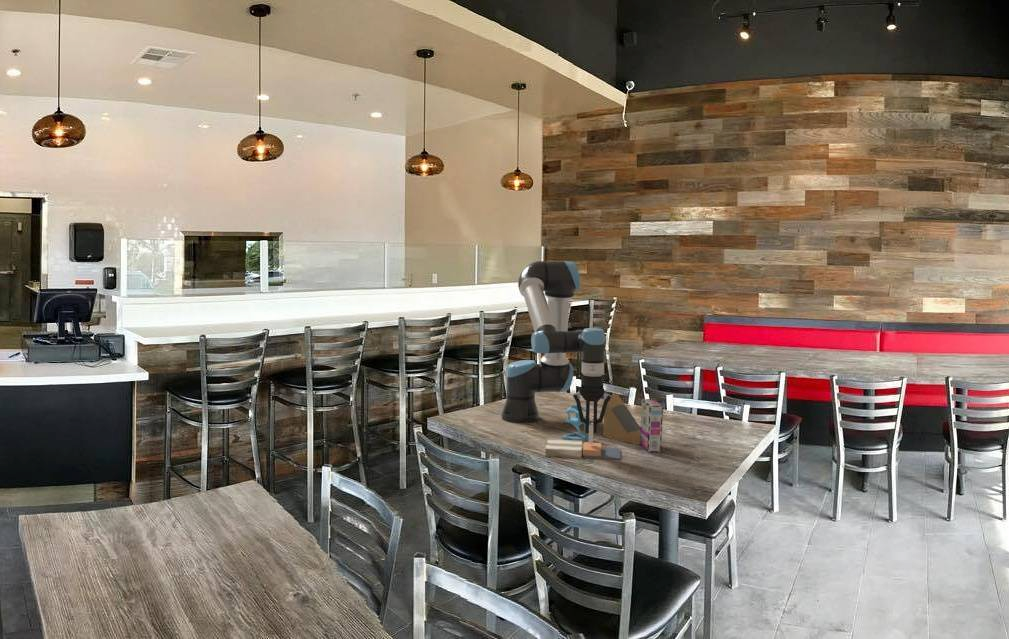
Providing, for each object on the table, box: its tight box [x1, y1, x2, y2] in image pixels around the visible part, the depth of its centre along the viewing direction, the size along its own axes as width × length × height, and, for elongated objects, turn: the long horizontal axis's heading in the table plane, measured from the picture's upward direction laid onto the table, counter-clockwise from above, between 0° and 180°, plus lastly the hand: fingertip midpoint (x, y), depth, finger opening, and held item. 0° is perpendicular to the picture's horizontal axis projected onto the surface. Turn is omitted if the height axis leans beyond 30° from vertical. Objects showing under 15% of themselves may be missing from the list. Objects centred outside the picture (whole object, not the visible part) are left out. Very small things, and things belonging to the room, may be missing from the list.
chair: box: [562, 404, 591, 442], centre depth 253 cm, size 8×8×12 cm
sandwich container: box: [603, 393, 641, 445], centre depth 254 cm, size 9×15×15 cm, turn 45°
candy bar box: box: [639, 398, 664, 453], centre depth 242 cm, size 11×5×16 cm, turn 4°
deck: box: [544, 438, 583, 459], centre depth 237 cm, size 12×12×2 cm
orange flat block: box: [582, 441, 602, 457], centre depth 236 cm, size 9×6×2 cm, turn 172°
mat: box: [583, 446, 622, 460], centre depth 236 cm, size 12×12×1 cm
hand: (590, 442), depth 236 cm, fingers closed
